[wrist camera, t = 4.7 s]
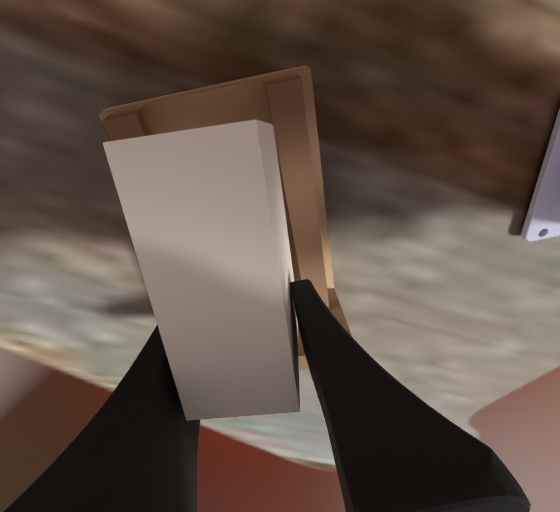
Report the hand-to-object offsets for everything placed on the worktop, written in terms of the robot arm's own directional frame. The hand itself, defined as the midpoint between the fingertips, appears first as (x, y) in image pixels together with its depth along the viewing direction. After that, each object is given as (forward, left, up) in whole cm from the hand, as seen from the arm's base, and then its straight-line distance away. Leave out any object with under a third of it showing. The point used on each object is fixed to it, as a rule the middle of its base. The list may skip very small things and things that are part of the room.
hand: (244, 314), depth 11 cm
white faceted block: (-1, -1, -3) cm, 4 cm away
